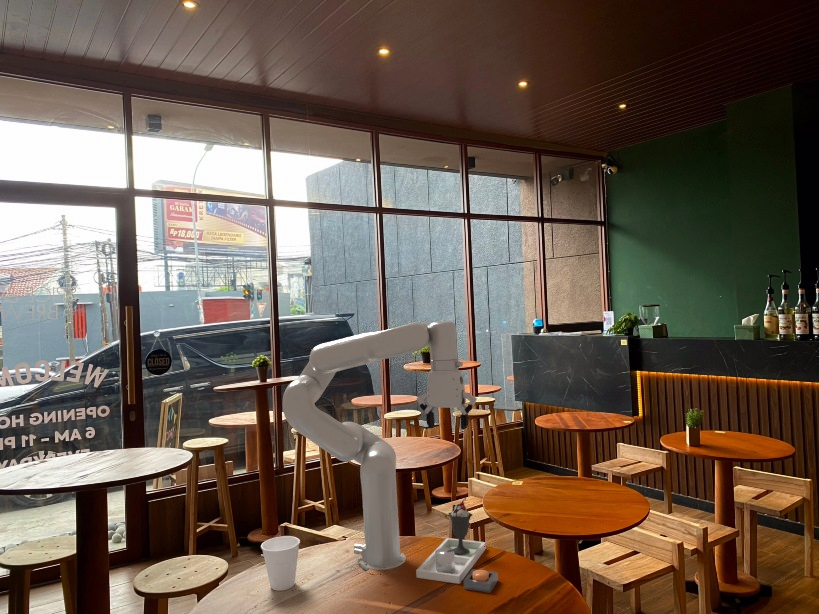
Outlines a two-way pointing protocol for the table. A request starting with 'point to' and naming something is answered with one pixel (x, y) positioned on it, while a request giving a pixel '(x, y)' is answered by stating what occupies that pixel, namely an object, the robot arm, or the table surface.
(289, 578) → the cup
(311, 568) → the table surface
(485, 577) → the button cap
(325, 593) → the table surface
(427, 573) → the shallow white tray
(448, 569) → the cylinder
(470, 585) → the button housing
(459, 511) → the sundae
